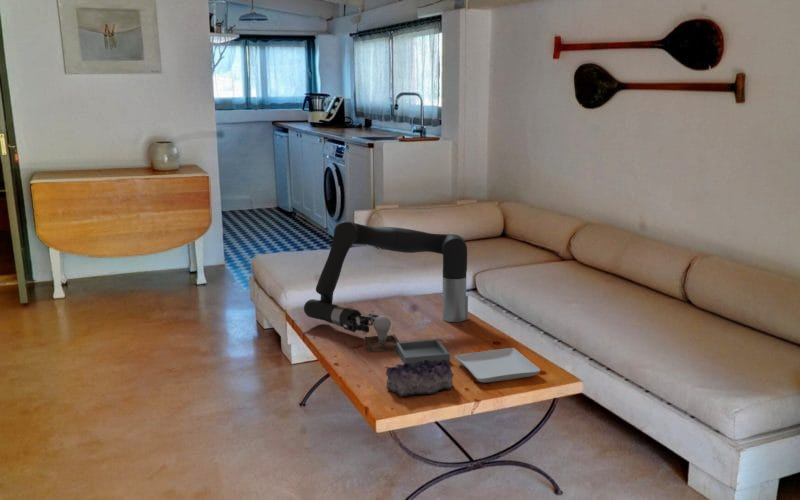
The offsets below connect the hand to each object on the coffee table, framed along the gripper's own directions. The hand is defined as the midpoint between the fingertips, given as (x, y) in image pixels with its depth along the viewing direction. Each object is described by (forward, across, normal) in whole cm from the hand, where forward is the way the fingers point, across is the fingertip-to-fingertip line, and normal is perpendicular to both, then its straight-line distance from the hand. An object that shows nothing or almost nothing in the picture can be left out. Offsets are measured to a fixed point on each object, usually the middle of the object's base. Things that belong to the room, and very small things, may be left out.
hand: (377, 326), depth 249 cm
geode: (+38, -20, +7) cm, 43 cm away
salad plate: (+46, +7, +7) cm, 48 cm away
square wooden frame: (+3, 0, +6) cm, 7 cm away
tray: (+20, +1, +6) cm, 21 cm away
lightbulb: (+3, 0, +7) cm, 7 cm away
